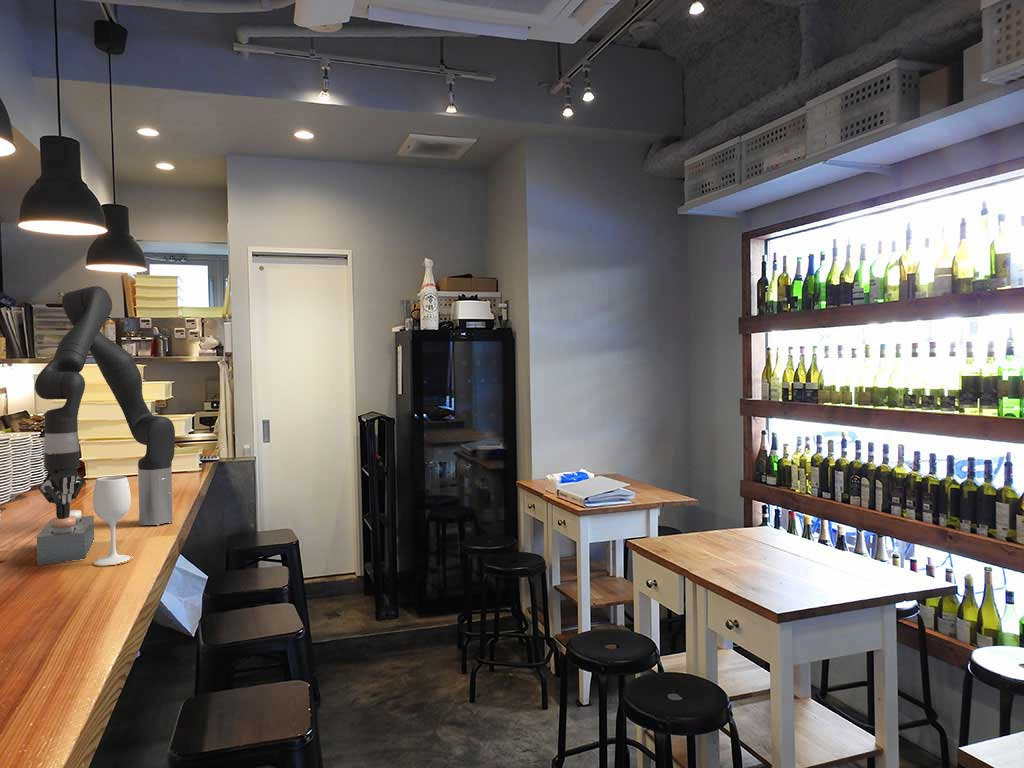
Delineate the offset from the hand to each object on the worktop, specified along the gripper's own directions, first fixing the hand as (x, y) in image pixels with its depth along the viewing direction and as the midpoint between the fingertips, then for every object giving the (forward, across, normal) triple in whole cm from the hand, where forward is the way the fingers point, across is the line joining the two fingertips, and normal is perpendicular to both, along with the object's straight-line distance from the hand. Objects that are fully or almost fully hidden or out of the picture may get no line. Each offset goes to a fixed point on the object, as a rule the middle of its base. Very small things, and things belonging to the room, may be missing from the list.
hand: (63, 518), depth 178 cm
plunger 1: (+7, 0, 0) cm, 7 cm away
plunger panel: (+10, -5, -3) cm, 12 cm away
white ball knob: (+8, -10, -7) cm, 14 cm away
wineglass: (+10, +1, +15) cm, 18 cm away
